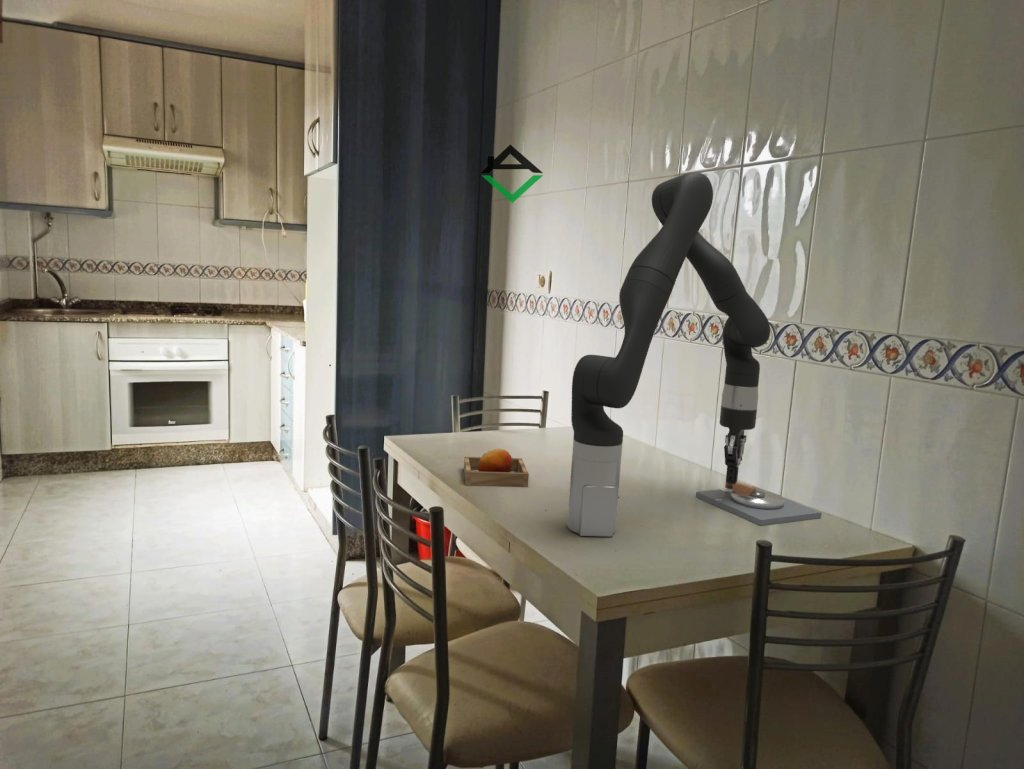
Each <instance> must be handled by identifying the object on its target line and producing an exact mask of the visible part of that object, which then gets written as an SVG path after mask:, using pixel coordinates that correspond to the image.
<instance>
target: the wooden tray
mask: <svg viewBox="0 0 1024 769" xmlns="http://www.w3.org/2000/svg"><path fill="white" fill-rule="evenodd" d="M481 457H482V456H464V457H463V458H464V459H463V460H464V461H463V473H464V480H465V481H464V482H465V486H478V487H479V486H480V487H481V486H482V487H483V486H485V487H512V488H513V487H516V488H517V487H520V488H524V487H525V488H529V477H530V476H529V474H530V473H529V471H528V469H527V467H526V465H525V462H524V460H523V458H520V457H519V458H518V457H515V458H513V457H512V468H511V471H510V472H480V471H478V464H479V461H480V459H481Z"/></svg>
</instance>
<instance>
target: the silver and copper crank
mask: <svg viewBox="0 0 1024 769" xmlns="http://www.w3.org/2000/svg"><path fill="white" fill-rule="evenodd" d="M725 472H726V473H725V476H726V475H727V471H725ZM724 484H725V485H724V487H725V488H724V489H733V491H732V492H731V499H732V500H733V501H734V502H736V503H738V504H740V505H743V506H747V507H752V508H758V509H779V508H782V507H783V506H784V498H785V497H784V496H782V495H779V494H777V493H774V492H771V491H768V490H765V491H764V489H762V490H757V489H756V488H755V487H756V486H755V487H752V486H753V485H748V484H745V483H741V482H738V481H737V482H736V484H731V483H727V482H726V481H725V482H724Z"/></svg>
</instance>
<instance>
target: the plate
mask: <svg viewBox="0 0 1024 769" xmlns="http://www.w3.org/2000/svg"><path fill="white" fill-rule="evenodd" d="M751 486H752V487H755V488H756V489H757V490H764V489H762V488H759V487H757V486H754V485H751ZM732 491H733V489H728V488H719V489H718V488H717V489H710V490H708V489H707V490H700V491H696V492H695V497H696V498H698V499H700V500H702V501H703V502H706V503H709V504H710V505H713V506H715V507H717V508H720V509H722V510H724V511H727V512H729V513H731V514H733V515H736V516H738V517H740V518H741V519H744V520H747V521H749V522H751V523H753V524H755V525H757V526H761V527H762V526H769V525H778V524H783V523H790V522H791V523H793V522H800V521H807V520H814V519H815V518H816V519H821V518H822V511H819V510H816V509H814V508H812V507H809V506H806V505H803V504H802V503H798V502H795V501H794V500H790V499H788V498H785V497H783V498H784V506H783V507H782V508H779V509H758V508H752V507H747V506H743V505H740V504H738V503H736V502H734V501H733V500H732V499H731V492H732ZM764 491H766V490H764ZM820 517H821V518H820Z"/></svg>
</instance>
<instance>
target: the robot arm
mask: <svg viewBox="0 0 1024 769" xmlns="http://www.w3.org/2000/svg"><path fill="white" fill-rule="evenodd" d="M651 194H652V195H651V206H652V210H653V212H654V214H655V216H656V218H657V219H658V221H659V223H660V224H661V225H662V227H661V229H660V230H659V231H658V232H657V233H656V234H655V235H654V237H653V238H652V239H651V240H650V241H649V242H648V243H647V244H646V245H645V247H644V248H642V250H641V251H640V252H639V253H638V254H637V256H636V257H635V259H634V260H633V261H632V263H631V265H630V267H629V269H628V271H627V273H626V276H625V278H624V280H623V282H622V285H621V288H620V289H619V294H618V295H619V300H618V302H619V308H620V312H621V313H620V314H621V317H622V320H623V325H624V327H623V328H624V334H623V338H622V343H621V346H620V348H619V351H618V353H617V355H616V356H615V357H612V356H606V355H599V354H586V355H584V356H582V357H580V358H579V360H578V361H577V363H576V365H575V368H574V371H573V374H572V381H571V416H570V417H571V418H570V419H571V426H572V430H573V438H572V439H573V440H572V441H573V443H572V454H571V469H570V483H569V496H568V498H569V499H568V511H567V512H568V515H567V528H568V530H570V531H572V532H574V533H576V534H578V535H579V536H581V537H613V534H615V532H616V530H617V517H618V506H619V505H618V502H619V492H620V490H619V489H620V476H621V467H622V466H621V465H622V454H623V442H624V440H623V439H624V430H623V428H622V426H620V425H619V424H618V423H617V422H615V421H614V420H613V419H612V418H610V417H609V415H608V414H607V413H606V411H605V408H604V407H606V408H609V409H610V408H613V409H622V408H623V409H624V408H625V407H626V406H628V405H629V403H630V402H631V400H632V399H633V397H634V395H635V393H636V390H637V388H638V385H639V382H640V378H641V375H642V372H643V368H644V366H645V362H646V358H647V356H648V352H649V348H650V346H651V343H652V340H653V337H654V335H655V332H656V330H657V328H658V325H659V322H660V319H661V317H662V315H663V313H664V311H665V308H666V306H667V304H668V302H669V299H670V297H671V295H672V292H673V289H674V286H675V284H676V281H677V279H678V275H679V274H680V271H681V269H682V266H683V264H684V262H685V260H686V259H687V260H688V262H689V263H690V265H692V267H693V268H694V270H695V272H696V273H697V275H698V276H699V278H700V280H701V282H702V284H703V285H704V287H705V289H706V292H707V293H708V295H709V296H710V299H711V301H712V302H713V305H714V307H716V309H717V310H718V311H719V312H721V313H722V314H723V313H724V314H725V315H726V316H727V319H726V321H725V322H724V326H723V330H722V344H723V350H724V351H723V352H724V358H725V362H726V363H725V374H724V376H725V377H724V384H723V388H722V393H721V403H720V414H719V425H720V426H721V427H724V428H727V429H729V431H728V433H727V434H726V435H725V437H724V446H723V451H724V464H725V466H726V472H727V475H726V474H725V482H727V483H731V484H736V482H738V480H739V478H738V477H739V468H740V465H741V464H742V461H743V456H744V453H745V446H746V443H747V435H745V431H748V430H749V431H750V430H754V429H755V428H756V423H757V414H758V413H757V412H758V403H759V381H760V372H761V365H760V361H758V359H756V358H755V357H754V356H753V353H752V352H753V351H752V349H753V348H760V347H762V346H763V345H765V344H766V343H767V342H768V341H769V339H770V336H771V325H770V321H769V319H768V317H767V316H766V314H765V312H764V311H763V310H762V308H761V307H760V306H759V305H758V304H757V302H756V301H755V300H754V298H753V297H752V296H751V295H750V294H749V293H748V292H747V290H746V287H745V285H744V284H743V283H744V282H742V279H741V277H740V275H739V273H738V271H737V270H736V268H735V266H734V264H733V263H732V262H731V260H729V259H728V258H727V257H726V256H725V255H724V254H723V253H722V252H721V251H720V250H719V249H717V248H716V247H715V246H713V244H711V243H710V242H709V241H708V240H707V239H706V238H705V237H704V236H703V235H702V234H701V233H700V230H701V227H702V226H703V223H704V222H705V220H706V218H707V216H708V215H709V213H710V210H711V208H712V204H713V200H714V189H713V185H712V182H711V180H710V178H709V177H708V176H707V175H705V174H704V173H702V172H699V171H693V172H687V173H684V174H680V175H678V176H676V177H673V178H671V179H667V180H665V181H663V182H661V183H659V184H658V185H657V186H655V188H654V190H653V192H652V193H651Z"/></svg>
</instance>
